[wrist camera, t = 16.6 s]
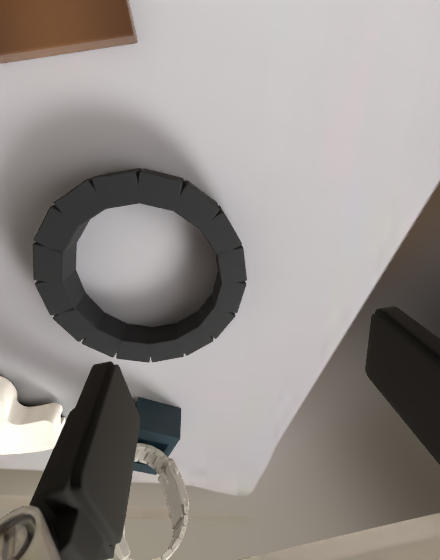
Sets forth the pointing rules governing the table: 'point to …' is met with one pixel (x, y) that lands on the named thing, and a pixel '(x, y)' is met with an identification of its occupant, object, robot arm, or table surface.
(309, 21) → the table surface
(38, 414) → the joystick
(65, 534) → the robot arm
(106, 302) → the table surface
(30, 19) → the stand
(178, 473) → the watch
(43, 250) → the ring
